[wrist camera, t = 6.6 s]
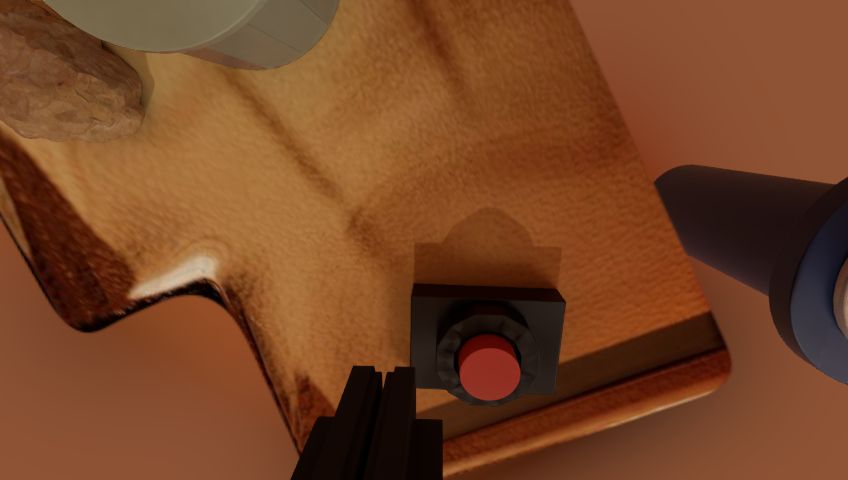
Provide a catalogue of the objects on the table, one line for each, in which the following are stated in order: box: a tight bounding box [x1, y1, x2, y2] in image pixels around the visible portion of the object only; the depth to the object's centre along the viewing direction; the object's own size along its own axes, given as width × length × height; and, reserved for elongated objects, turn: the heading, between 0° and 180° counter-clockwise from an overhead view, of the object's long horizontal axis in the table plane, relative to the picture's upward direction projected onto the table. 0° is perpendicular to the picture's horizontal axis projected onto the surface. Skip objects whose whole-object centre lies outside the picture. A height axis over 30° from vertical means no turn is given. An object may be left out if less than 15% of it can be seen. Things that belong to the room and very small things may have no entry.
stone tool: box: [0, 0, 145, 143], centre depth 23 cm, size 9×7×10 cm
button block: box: [410, 284, 566, 406], centre depth 27 cm, size 10×7×4 cm
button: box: [459, 333, 520, 400], centre depth 25 cm, size 4×4×2 cm
